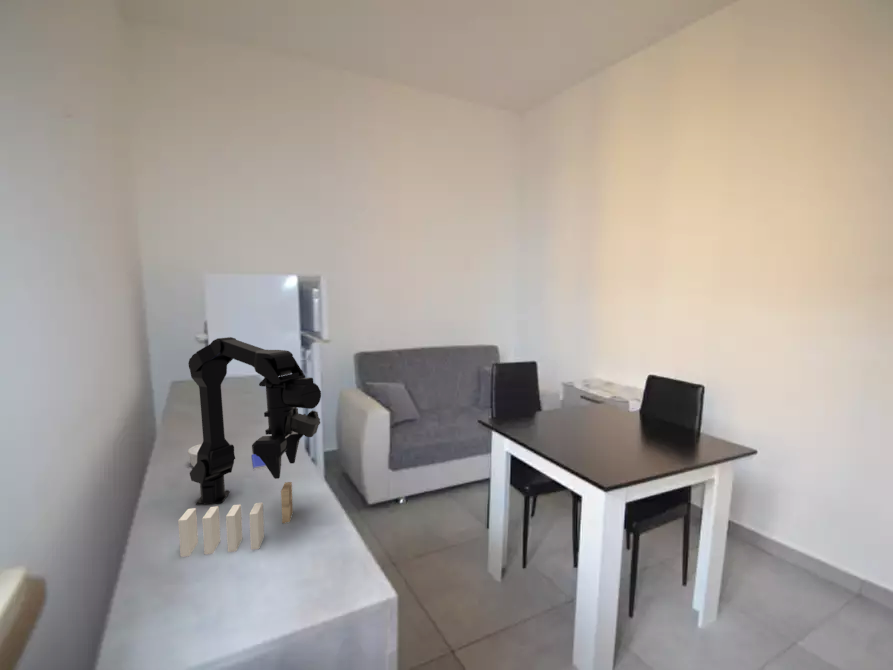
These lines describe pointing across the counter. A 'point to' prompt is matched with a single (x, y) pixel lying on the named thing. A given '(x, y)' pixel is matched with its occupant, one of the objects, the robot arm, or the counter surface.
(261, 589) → the counter surface
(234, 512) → the domino
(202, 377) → the robot arm
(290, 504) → the maple domino
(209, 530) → the domino
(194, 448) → the ramekin
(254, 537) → the domino
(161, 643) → the counter surface
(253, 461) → the hard drive
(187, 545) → the domino
